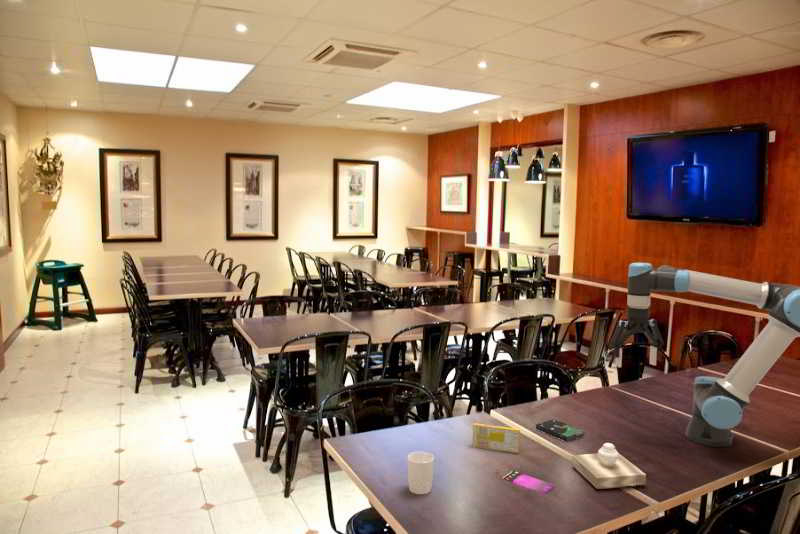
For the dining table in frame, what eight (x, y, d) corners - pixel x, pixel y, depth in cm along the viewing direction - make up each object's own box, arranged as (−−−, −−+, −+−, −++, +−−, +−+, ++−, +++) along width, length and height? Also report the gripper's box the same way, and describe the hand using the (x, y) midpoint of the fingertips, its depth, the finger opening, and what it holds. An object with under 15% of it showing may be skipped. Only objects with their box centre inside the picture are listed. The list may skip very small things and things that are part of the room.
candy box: (519, 451, 199) (520, 428, 198) (518, 454, 197) (519, 430, 196) (473, 444, 204) (473, 422, 203) (472, 447, 202) (472, 424, 201)
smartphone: (512, 472, 185) (512, 469, 184) (555, 486, 175) (555, 483, 175) (500, 480, 179) (500, 477, 179) (544, 495, 169) (544, 492, 169)
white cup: (405, 483, 175) (406, 451, 174) (431, 482, 176) (431, 451, 175) (408, 496, 167) (408, 463, 166) (435, 495, 168) (435, 462, 167)
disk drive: (535, 431, 218) (567, 444, 206) (535, 424, 218) (567, 436, 206) (552, 425, 224) (585, 437, 213) (552, 418, 224) (585, 430, 212)
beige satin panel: (616, 463, 190) (617, 452, 190) (645, 487, 174) (645, 474, 174) (571, 466, 187) (572, 455, 187) (596, 490, 172) (597, 478, 171)
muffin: (613, 470, 176) (614, 448, 175) (594, 464, 180) (595, 443, 180) (621, 464, 181) (622, 443, 180) (602, 458, 185) (603, 437, 184)
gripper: (663, 303, 208) (660, 360, 211) (600, 305, 204) (598, 364, 206) (676, 307, 201) (673, 366, 203) (612, 309, 196) (609, 370, 199)
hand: (635, 365), depth 205 cm, fingers open, 13 cm apart
